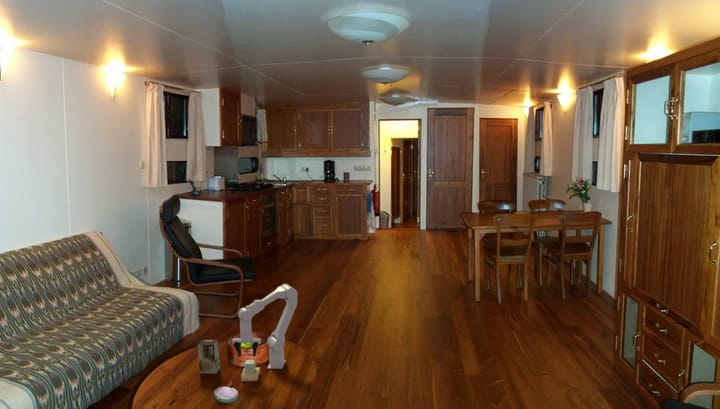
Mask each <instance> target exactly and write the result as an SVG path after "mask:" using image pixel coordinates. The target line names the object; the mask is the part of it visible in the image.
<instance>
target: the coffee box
mask: <svg viewBox="0 0 720 409" xmlns="http://www.w3.org/2000/svg"><path fill="white" fill-rule="evenodd" d="M197 351H198V363H199V364H198V367H199V373H200V374H214V375H215V374H217V373H218V372H219V371H220V369H221V365H220V364H221V362H220V359H221V358H220V347H219V339H201V340H200V341H199V343H197Z"/></svg>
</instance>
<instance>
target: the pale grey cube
mask: <svg viewBox="0 0 720 409" xmlns="http://www.w3.org/2000/svg"><path fill="white" fill-rule="evenodd" d="M243 367H244V368H243V370H244V369H245V373H254V372H255V369H256V368H257V367H256V359H248V360H247V359H246V360H245V362H244V366H243Z"/></svg>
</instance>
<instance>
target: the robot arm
mask: <svg viewBox="0 0 720 409" xmlns="http://www.w3.org/2000/svg"><path fill="white" fill-rule="evenodd" d="M298 295H299V293H298V291H297V290H296V289H295V288H294V287H292V286H290V285H289V284H288V283H283V284H281V285H280V286H278V287H276V289H275V290H273V291H272V292H271V293H269V294H268V295H267V296H265V297H264V298H262V299H255V300H253V302H252V303H250V304H249V305H246V306H245V307H241V308H240V309H239V311H238V313H237V317H238V318H239V328H240V329H239V331H240V337H236V338H234V337H233V338H232V340H231V343H232V344H233V347H234V349H235V350H236V353H237V355H238V357H239V358H240V357H241V356H242V349H241V348H242V345H243V344H252V345H251V347H252V356H253V358H256V356H257V355H256V354H257V350H258V347H259V345H260V344H261V342H262V339H261V338H256V337H253V331H252V329H253V328H252V319H253V317H254V316H255V315H256V314H259V312H262V311H263V310H264V309H265V306H267V305H268V304H270V303H272V302H274V301H276V300H277V299H284V300H285V302H286V305H285V307H284V309H283V311H282V314H281V316H280V319H279V321H278V323H277V325H276V328H275V330H273V331H272V333H271V335H270V336H268V338H267V340H266V342H267V346H269V348H268V353H269V354H268V357H269V358H268V359H269V364H268V366H267V369H268V370H269V369H272V370H273V369H274V370H275V369H277V370H279V369H280V370H281V369H283V368H284V366H285V363H286V362H287V361H286V359H285V358H284V357H285V351H284V348H285V341H286V335H285V334H286V332H287V330H288V327H289V325H290V322H291V321H292V318H293V315H294V313H295V310H296V308H297V305H298Z"/></svg>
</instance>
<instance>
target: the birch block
mask: <svg viewBox="0 0 720 409" xmlns="http://www.w3.org/2000/svg"><path fill="white" fill-rule="evenodd" d="M255 368H256V369H255V372H254V373H245V369H244V368H243V370H242V373H241V375H240V378H241V379H240V380H241V382H253V381H255V382H256V381H258V380H259V378H260V377H259V376H260V374H261V370H260V369H261V368H260V367H255Z"/></svg>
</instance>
